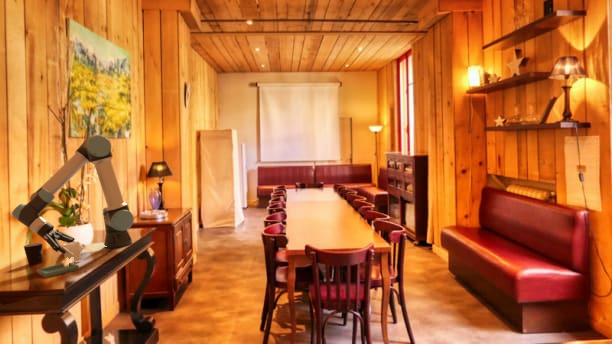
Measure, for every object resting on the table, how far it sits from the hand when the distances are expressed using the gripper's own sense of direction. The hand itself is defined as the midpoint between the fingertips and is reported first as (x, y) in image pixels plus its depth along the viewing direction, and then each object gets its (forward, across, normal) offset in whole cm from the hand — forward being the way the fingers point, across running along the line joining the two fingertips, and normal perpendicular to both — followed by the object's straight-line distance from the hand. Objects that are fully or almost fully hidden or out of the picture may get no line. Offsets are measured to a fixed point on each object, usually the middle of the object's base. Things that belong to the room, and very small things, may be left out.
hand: (77, 253), depth 236 cm
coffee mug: (-14, -12, -21) cm, 28 cm away
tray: (+1, +16, -5) cm, 17 cm away
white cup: (+2, 0, -5) cm, 5 cm away
